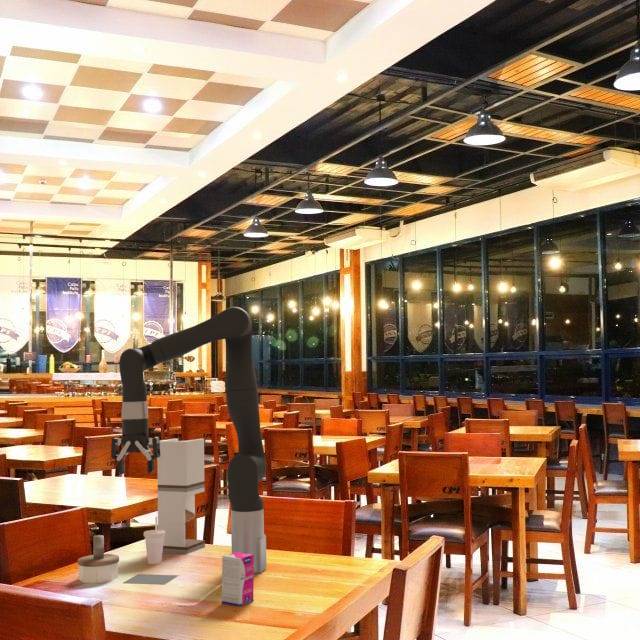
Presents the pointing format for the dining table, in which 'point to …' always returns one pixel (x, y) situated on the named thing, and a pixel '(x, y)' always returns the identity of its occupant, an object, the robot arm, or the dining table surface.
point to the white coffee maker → (179, 491)
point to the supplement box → (237, 578)
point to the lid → (98, 555)
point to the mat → (151, 579)
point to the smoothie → (154, 544)
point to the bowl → (98, 573)
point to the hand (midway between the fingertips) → (136, 473)
